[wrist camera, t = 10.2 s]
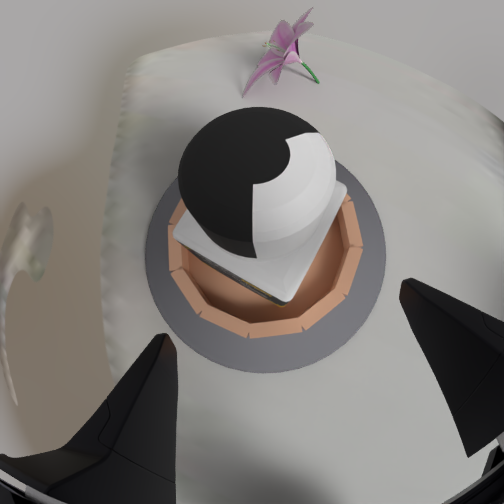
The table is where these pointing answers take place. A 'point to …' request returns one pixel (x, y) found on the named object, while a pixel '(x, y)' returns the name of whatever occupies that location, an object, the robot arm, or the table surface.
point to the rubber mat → (282, 346)
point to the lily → (282, 50)
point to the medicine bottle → (258, 198)
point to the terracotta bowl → (258, 308)
